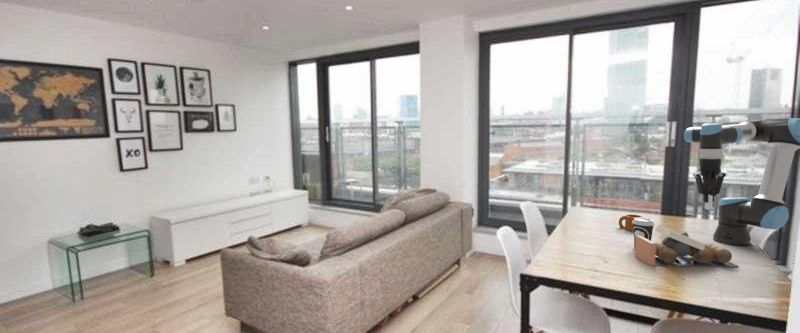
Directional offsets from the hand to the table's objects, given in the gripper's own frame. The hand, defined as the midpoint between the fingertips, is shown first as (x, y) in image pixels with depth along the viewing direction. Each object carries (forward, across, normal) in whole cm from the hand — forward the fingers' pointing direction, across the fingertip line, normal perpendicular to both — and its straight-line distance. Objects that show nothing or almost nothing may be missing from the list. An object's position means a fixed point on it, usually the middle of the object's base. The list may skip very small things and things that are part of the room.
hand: (708, 209), depth 180 cm
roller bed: (+22, +12, +6) cm, 26 cm away
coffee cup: (+22, +22, -12) cm, 34 cm away
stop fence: (+22, +30, +5) cm, 38 cm away
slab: (+13, +16, +6) cm, 21 cm away
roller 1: (+18, +22, +6) cm, 29 cm away
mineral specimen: (+23, +7, -9) cm, 26 cm away
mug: (+23, +10, -49) cm, 55 cm away
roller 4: (+19, 0, +6) cm, 19 cm away
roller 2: (+15, +14, +5) cm, 21 cm away
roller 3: (+18, +7, +6) cm, 21 cm away
